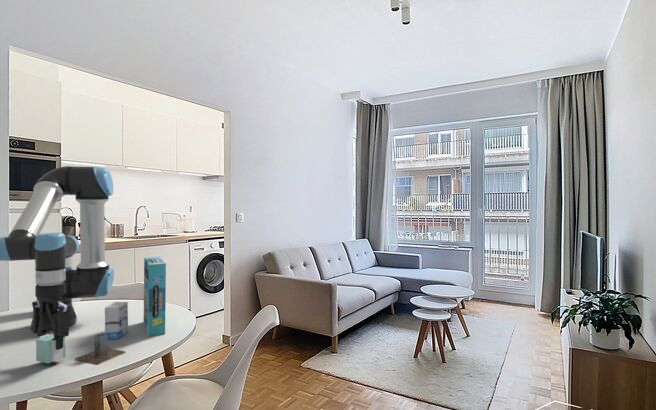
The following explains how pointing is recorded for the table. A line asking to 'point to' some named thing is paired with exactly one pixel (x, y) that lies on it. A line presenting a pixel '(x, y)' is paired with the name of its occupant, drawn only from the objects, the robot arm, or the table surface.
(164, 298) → the game box
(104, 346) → the brown peg stand
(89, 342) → the table surface
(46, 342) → the mint foam cube
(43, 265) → the robot arm
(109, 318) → the ink box
